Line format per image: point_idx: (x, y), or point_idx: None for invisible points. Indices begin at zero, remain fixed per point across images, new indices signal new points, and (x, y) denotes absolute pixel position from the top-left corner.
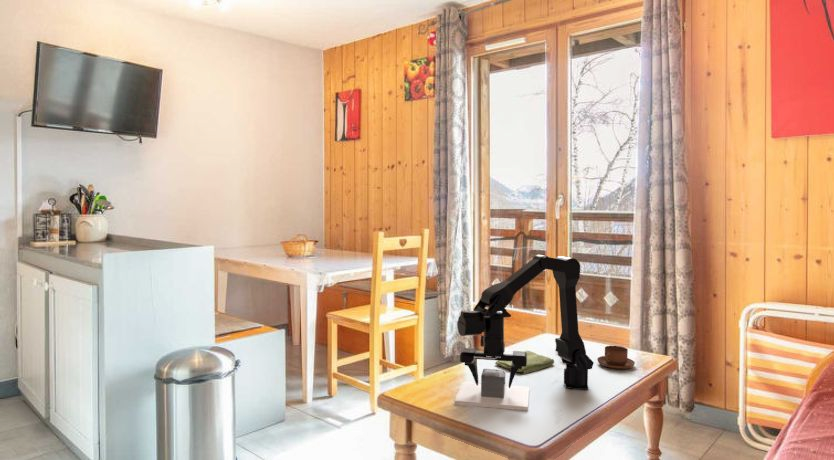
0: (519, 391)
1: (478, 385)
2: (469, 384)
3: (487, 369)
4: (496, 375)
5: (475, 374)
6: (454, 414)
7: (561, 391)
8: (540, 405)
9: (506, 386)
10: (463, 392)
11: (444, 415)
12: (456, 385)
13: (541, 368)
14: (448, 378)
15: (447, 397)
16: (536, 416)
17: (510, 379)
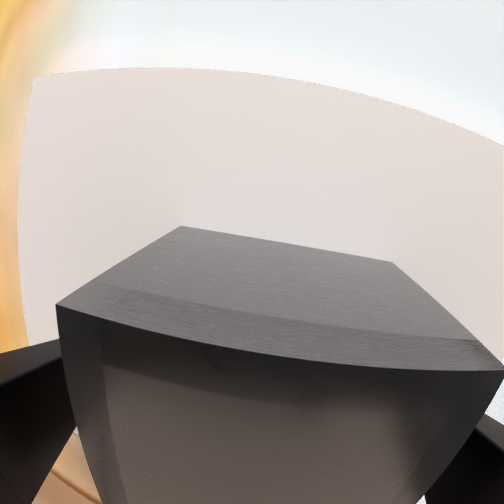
0: (487, 280)
1: (138, 140)
2: (69, 129)
3: (136, 356)
4: None
5: (42, 467)
6: (94, 483)
7: None
8: (500, 406)
9: (417, 152)
10: (48, 316)
11: (67, 478)
12: (17, 105)
13: None
14: (6, 7)
15: (5, 323)
16: (422, 497)
17: (433, 496)
